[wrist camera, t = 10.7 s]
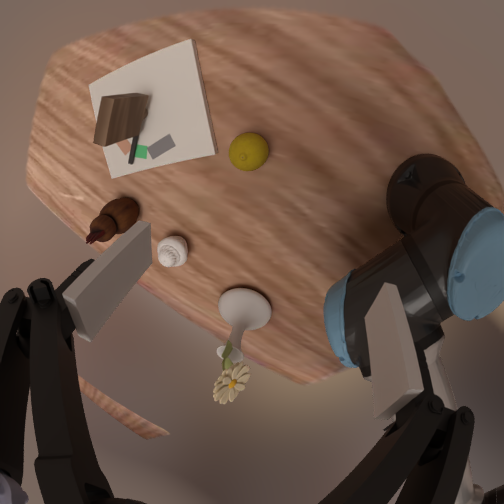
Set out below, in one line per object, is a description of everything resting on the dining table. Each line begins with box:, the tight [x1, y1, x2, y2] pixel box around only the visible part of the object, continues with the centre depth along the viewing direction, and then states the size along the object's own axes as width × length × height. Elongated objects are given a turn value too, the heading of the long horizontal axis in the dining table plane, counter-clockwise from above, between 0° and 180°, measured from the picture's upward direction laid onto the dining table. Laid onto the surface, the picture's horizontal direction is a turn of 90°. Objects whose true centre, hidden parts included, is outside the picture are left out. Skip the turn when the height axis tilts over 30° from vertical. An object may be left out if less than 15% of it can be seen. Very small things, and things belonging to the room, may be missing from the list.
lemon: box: [229, 133, 269, 171], centre depth 37 cm, size 6×6×8 cm
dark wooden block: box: [93, 93, 149, 165], centre depth 36 cm, size 2×13×10 cm, turn 159°
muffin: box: [157, 236, 188, 267], centre depth 50 cm, size 6×6×7 cm
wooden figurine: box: [86, 198, 139, 244], centre depth 45 cm, size 7×6×15 cm
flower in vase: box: [213, 288, 272, 404], centre depth 47 cm, size 13×11×25 cm
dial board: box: [89, 39, 218, 178], centre depth 39 cm, size 20×22×2 cm
